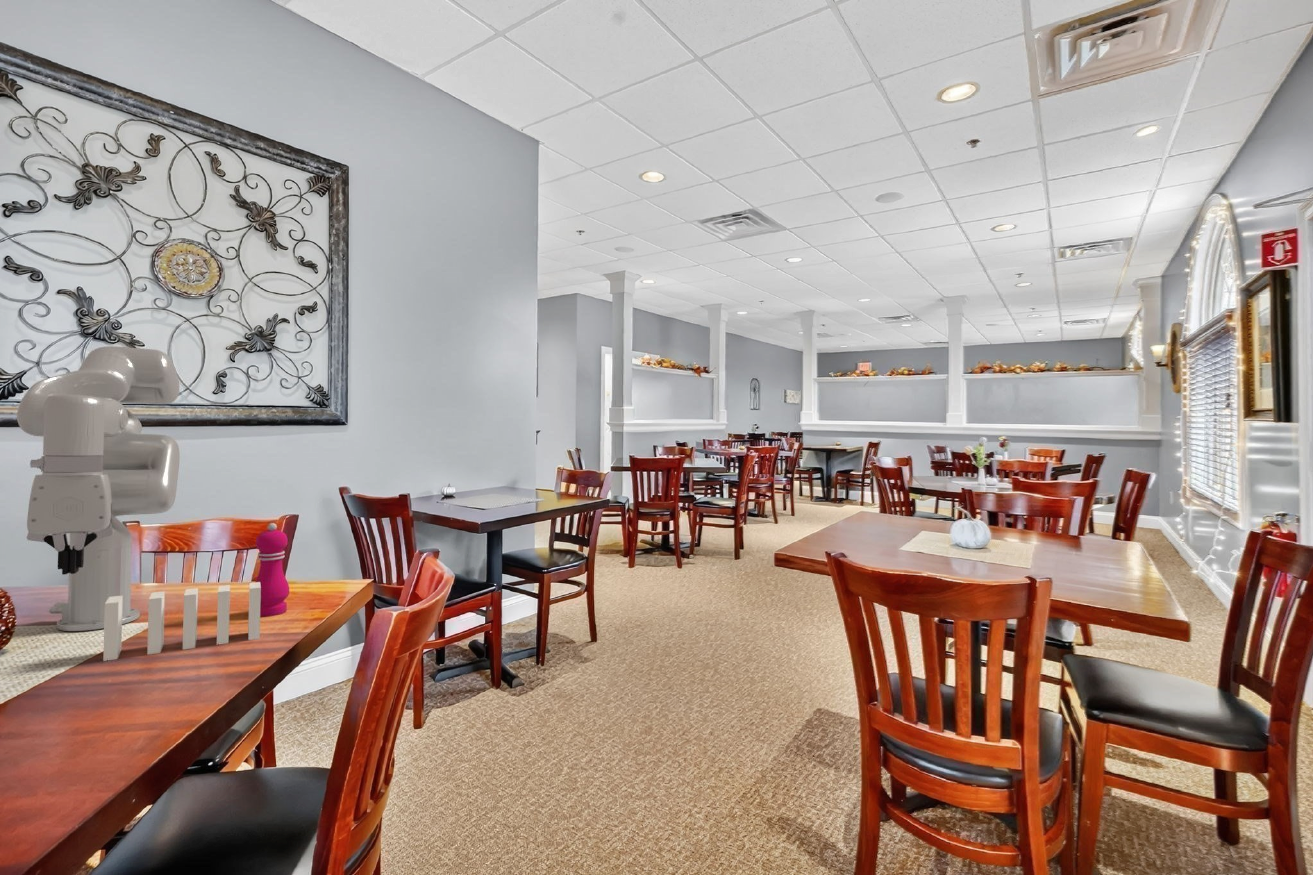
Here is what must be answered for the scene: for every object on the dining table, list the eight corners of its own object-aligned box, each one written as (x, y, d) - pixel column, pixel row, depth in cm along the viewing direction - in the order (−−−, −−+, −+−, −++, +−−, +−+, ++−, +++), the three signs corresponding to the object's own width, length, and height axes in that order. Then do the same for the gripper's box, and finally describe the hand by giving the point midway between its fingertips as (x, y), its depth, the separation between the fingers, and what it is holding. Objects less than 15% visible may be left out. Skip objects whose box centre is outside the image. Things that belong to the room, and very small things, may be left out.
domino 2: (182, 649, 110) (183, 595, 110) (184, 641, 114) (186, 589, 114) (194, 647, 111) (196, 594, 111) (196, 639, 116) (197, 588, 116)
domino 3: (216, 644, 113) (217, 592, 113) (217, 636, 117) (218, 586, 117) (228, 643, 114) (229, 590, 114) (228, 635, 118) (230, 584, 118)
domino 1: (147, 654, 107) (148, 599, 107) (151, 646, 112) (152, 592, 112) (160, 652, 108) (161, 597, 108) (163, 644, 113) (164, 591, 113)
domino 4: (248, 640, 116) (249, 588, 116) (248, 632, 120) (249, 582, 120) (259, 638, 117) (260, 587, 117) (258, 631, 121) (260, 581, 121)
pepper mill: (296, 608, 137) (298, 521, 137) (273, 618, 130) (275, 526, 130) (267, 607, 138) (269, 520, 138) (242, 616, 130) (244, 524, 130)
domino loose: (103, 661, 104) (104, 603, 104) (108, 651, 108) (109, 596, 108) (117, 659, 105) (118, 602, 105) (121, 650, 109) (122, 595, 109)
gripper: (4, 467, 96) (0, 582, 96) (127, 466, 104) (124, 572, 104) (18, 465, 102) (15, 573, 102) (133, 465, 111) (131, 564, 110)
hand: (70, 572), depth 103 cm, fingers closed
